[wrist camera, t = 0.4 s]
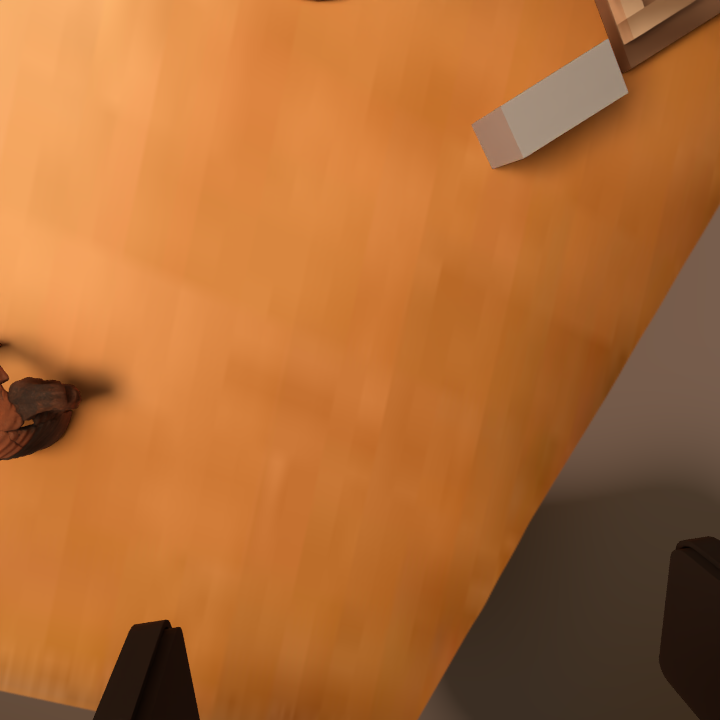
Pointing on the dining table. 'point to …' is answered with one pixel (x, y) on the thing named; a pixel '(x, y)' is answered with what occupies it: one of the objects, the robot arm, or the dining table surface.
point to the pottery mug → (33, 414)
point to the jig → (650, 25)
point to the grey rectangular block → (551, 106)
